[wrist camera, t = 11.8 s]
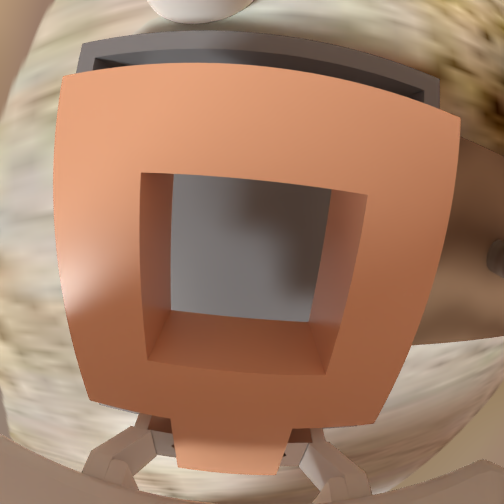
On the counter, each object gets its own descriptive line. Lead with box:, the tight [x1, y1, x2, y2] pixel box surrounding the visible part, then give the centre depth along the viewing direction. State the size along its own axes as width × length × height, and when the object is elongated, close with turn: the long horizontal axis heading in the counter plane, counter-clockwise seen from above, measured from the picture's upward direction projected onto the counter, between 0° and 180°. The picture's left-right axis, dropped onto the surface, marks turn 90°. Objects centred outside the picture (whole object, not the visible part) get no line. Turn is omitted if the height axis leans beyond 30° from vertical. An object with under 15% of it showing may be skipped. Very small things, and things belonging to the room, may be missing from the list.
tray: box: [76, 31, 440, 429], centre depth 15 cm, size 22×18×4 cm
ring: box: [53, 63, 461, 475], centre depth 9 cm, size 14×10×3 cm
